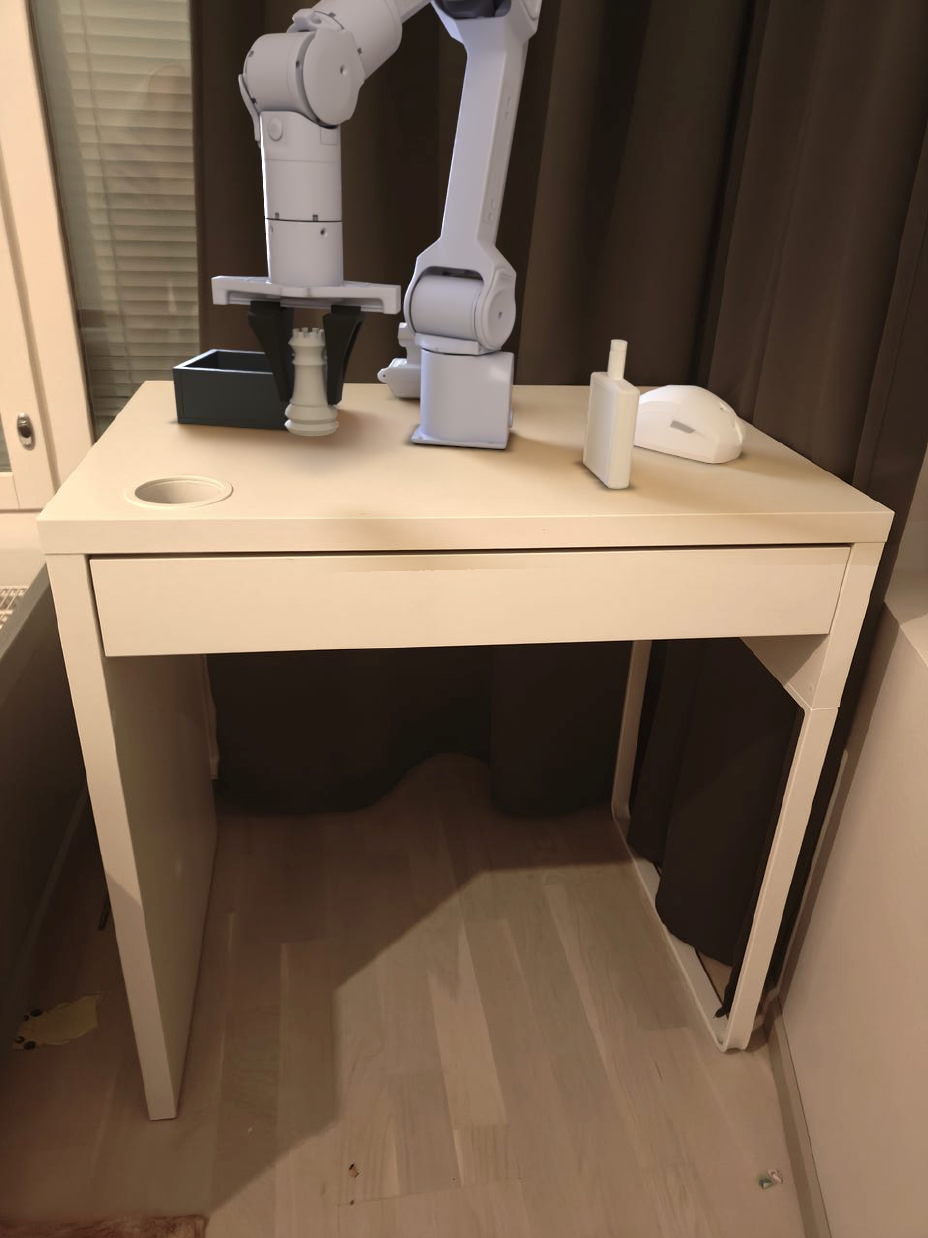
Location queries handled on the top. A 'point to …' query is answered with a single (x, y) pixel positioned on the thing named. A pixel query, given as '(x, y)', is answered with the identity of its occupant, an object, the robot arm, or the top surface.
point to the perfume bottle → (611, 421)
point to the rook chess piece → (310, 387)
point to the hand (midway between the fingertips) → (310, 400)
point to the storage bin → (229, 391)
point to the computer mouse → (689, 424)
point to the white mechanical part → (405, 368)
